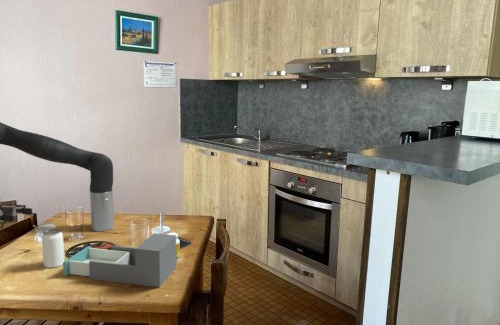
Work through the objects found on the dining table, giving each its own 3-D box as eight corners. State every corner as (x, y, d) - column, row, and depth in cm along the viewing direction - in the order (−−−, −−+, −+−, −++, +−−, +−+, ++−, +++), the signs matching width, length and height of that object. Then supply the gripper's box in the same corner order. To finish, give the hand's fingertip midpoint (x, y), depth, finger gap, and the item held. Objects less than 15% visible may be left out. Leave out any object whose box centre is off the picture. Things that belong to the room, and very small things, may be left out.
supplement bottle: (161, 258, 143) (161, 234, 142) (174, 255, 147) (173, 230, 146) (170, 263, 140) (170, 238, 138) (182, 259, 144) (182, 234, 142)
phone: (168, 233, 168) (192, 242, 159) (168, 236, 168) (192, 244, 159) (153, 238, 161) (177, 247, 152) (153, 241, 162) (177, 250, 153)
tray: (88, 257, 142) (88, 246, 141) (132, 262, 139) (131, 250, 138) (63, 275, 128) (63, 262, 127) (111, 280, 125) (110, 267, 124)
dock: (112, 261, 140) (111, 229, 138) (175, 268, 136) (175, 235, 134) (89, 279, 126) (88, 243, 124) (159, 287, 122) (159, 251, 120)
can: (40, 264, 136) (38, 231, 134) (60, 259, 141) (58, 227, 139) (47, 270, 132) (45, 236, 130) (67, 264, 136) (65, 231, 134)
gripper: (-36, 205, 132) (6, 210, 129) (-2, 195, 145) (36, 199, 143) (-35, 227, 133) (7, 231, 130) (-1, 215, 147) (37, 219, 144)
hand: (22, 215), depth 136 cm, fingers open, 8 cm apart
